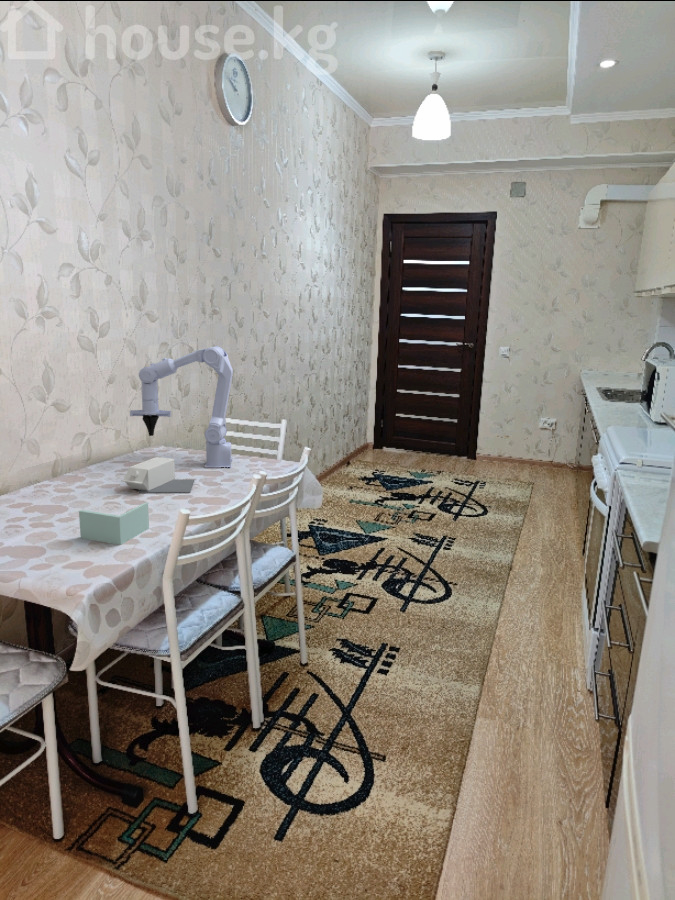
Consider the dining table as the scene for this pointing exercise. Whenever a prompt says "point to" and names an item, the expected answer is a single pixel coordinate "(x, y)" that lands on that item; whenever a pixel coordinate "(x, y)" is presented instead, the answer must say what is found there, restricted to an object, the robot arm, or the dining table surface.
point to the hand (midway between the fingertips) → (151, 435)
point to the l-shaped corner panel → (114, 525)
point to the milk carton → (150, 473)
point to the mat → (173, 487)
